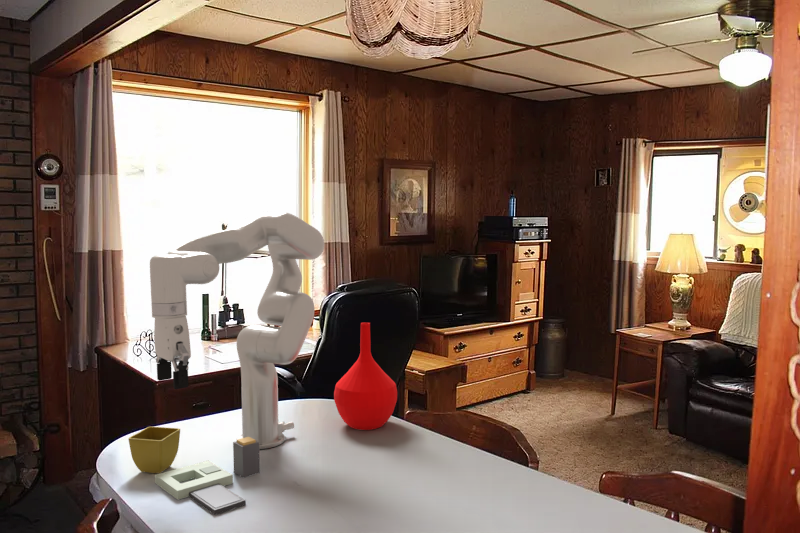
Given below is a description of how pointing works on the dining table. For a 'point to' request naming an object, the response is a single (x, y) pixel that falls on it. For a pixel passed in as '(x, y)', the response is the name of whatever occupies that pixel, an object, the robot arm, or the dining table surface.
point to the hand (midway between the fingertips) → (172, 383)
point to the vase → (365, 390)
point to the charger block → (246, 457)
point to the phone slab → (217, 498)
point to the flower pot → (154, 448)
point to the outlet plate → (202, 474)
